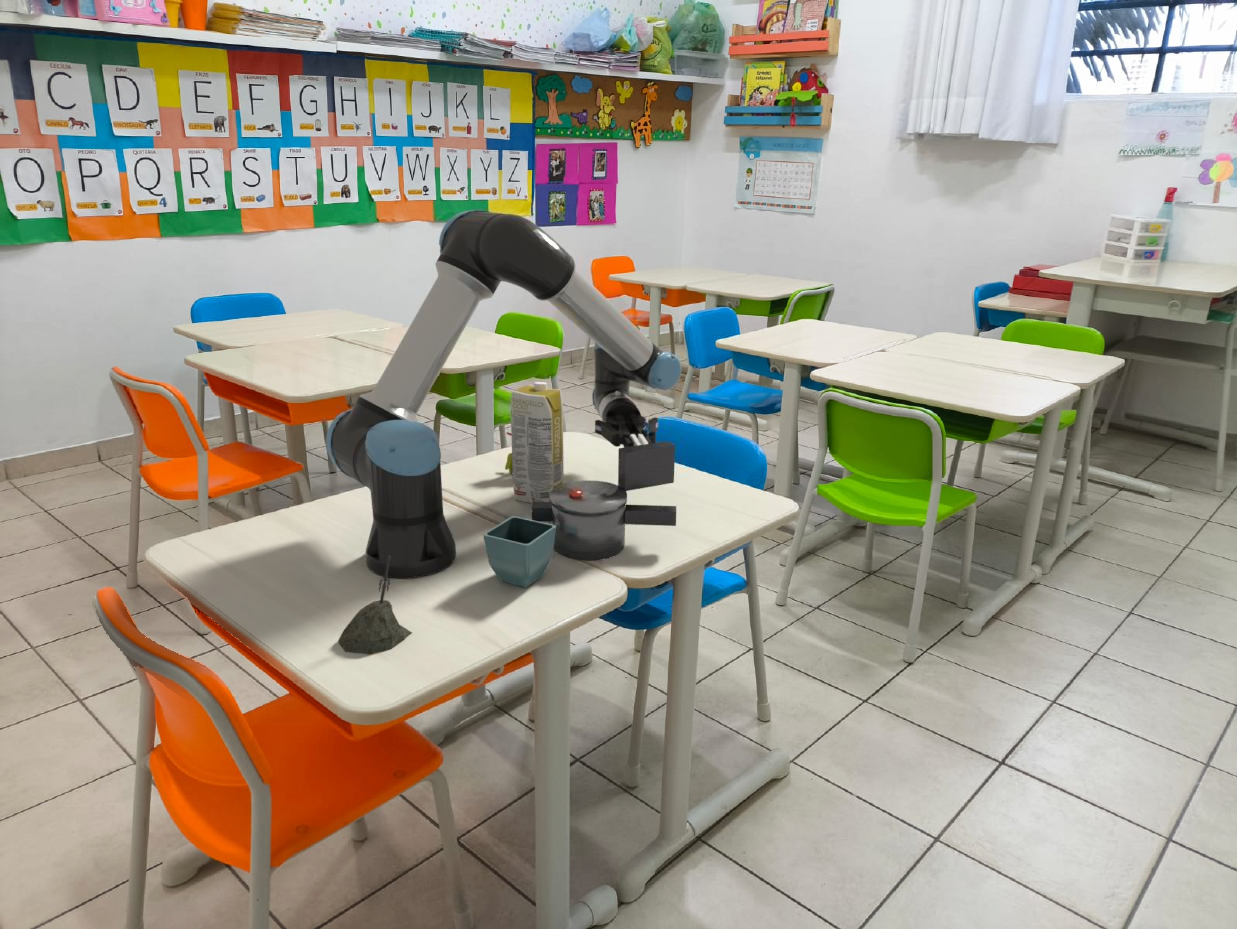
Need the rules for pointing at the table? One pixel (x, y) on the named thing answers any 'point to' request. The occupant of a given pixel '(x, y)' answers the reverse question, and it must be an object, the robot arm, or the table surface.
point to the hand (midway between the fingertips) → (643, 452)
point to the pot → (598, 528)
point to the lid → (634, 472)
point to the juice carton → (536, 442)
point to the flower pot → (520, 549)
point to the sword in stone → (374, 627)
